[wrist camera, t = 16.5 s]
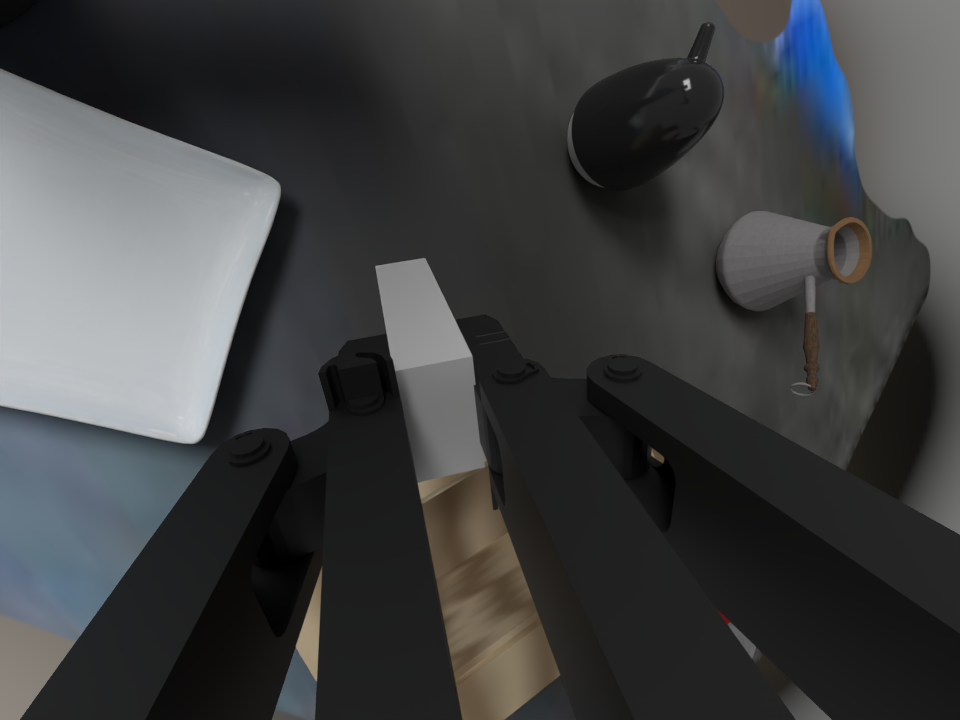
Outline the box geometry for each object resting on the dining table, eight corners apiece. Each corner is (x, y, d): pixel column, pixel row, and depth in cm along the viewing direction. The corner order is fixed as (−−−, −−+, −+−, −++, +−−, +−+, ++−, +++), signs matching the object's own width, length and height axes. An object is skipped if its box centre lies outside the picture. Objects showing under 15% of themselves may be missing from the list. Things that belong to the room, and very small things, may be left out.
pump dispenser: (640, 110, 54) (769, 37, 40) (628, 208, 54) (752, 169, 40) (557, 81, 50) (670, -12, 36) (545, 187, 50) (651, 135, 36)
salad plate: (-46, 61, 33) (-79, 34, 30) (285, 190, 41) (286, 179, 38) (-150, 368, 32) (-196, 374, 29) (208, 438, 41) (202, 448, 37)
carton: (362, 686, 47) (392, 808, 35) (236, 467, 41) (222, 525, 30) (552, 555, 54) (629, 620, 42) (465, 352, 48) (527, 363, 37)
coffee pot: (729, 195, 59) (867, 158, 46) (785, 250, 64) (927, 230, 50) (652, 353, 57) (774, 365, 43) (716, 399, 61) (845, 422, 47)
